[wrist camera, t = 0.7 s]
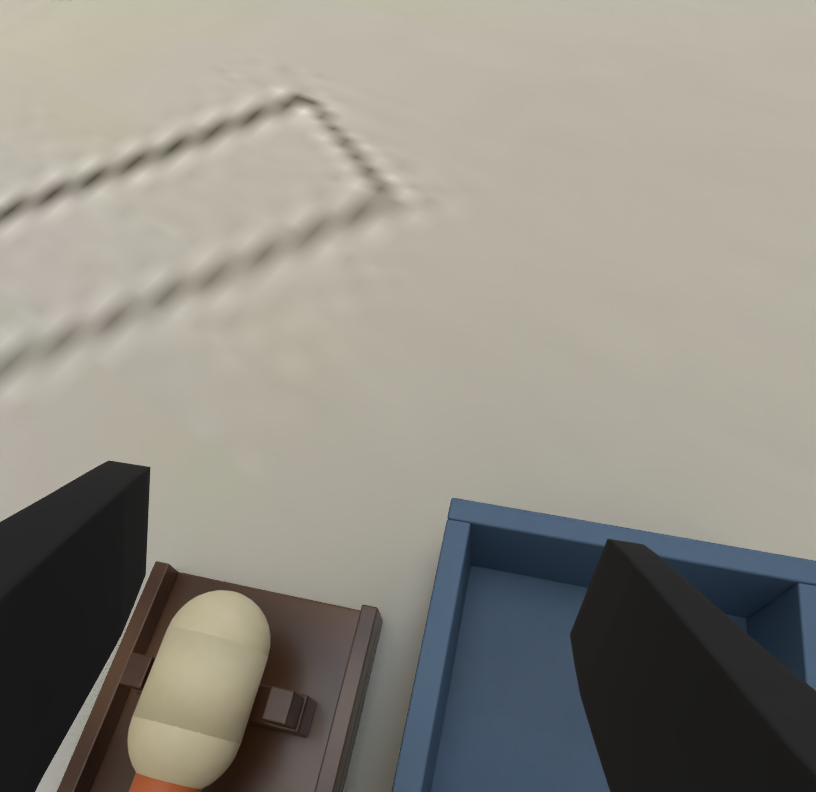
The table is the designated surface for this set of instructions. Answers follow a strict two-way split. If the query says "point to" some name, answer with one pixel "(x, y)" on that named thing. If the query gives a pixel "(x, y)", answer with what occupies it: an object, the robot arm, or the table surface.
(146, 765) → the bottle brush
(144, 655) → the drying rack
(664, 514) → the table surface
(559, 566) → the wash tub
